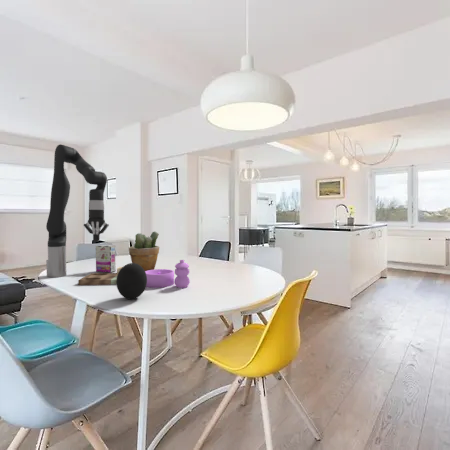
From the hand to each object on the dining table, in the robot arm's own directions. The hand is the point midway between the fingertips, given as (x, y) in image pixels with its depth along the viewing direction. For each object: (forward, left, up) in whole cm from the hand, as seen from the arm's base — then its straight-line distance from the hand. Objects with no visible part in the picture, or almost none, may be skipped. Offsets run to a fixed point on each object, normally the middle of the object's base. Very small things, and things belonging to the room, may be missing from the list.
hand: (96, 241), depth 161 cm
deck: (+6, 0, -21) cm, 22 cm away
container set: (+39, -12, -22) cm, 46 cm away
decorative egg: (+27, -36, -21) cm, 50 cm away
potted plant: (+21, +24, -21) cm, 38 cm away
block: (+14, 0, -19) cm, 23 cm away
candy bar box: (-3, +27, -21) cm, 34 cm away
